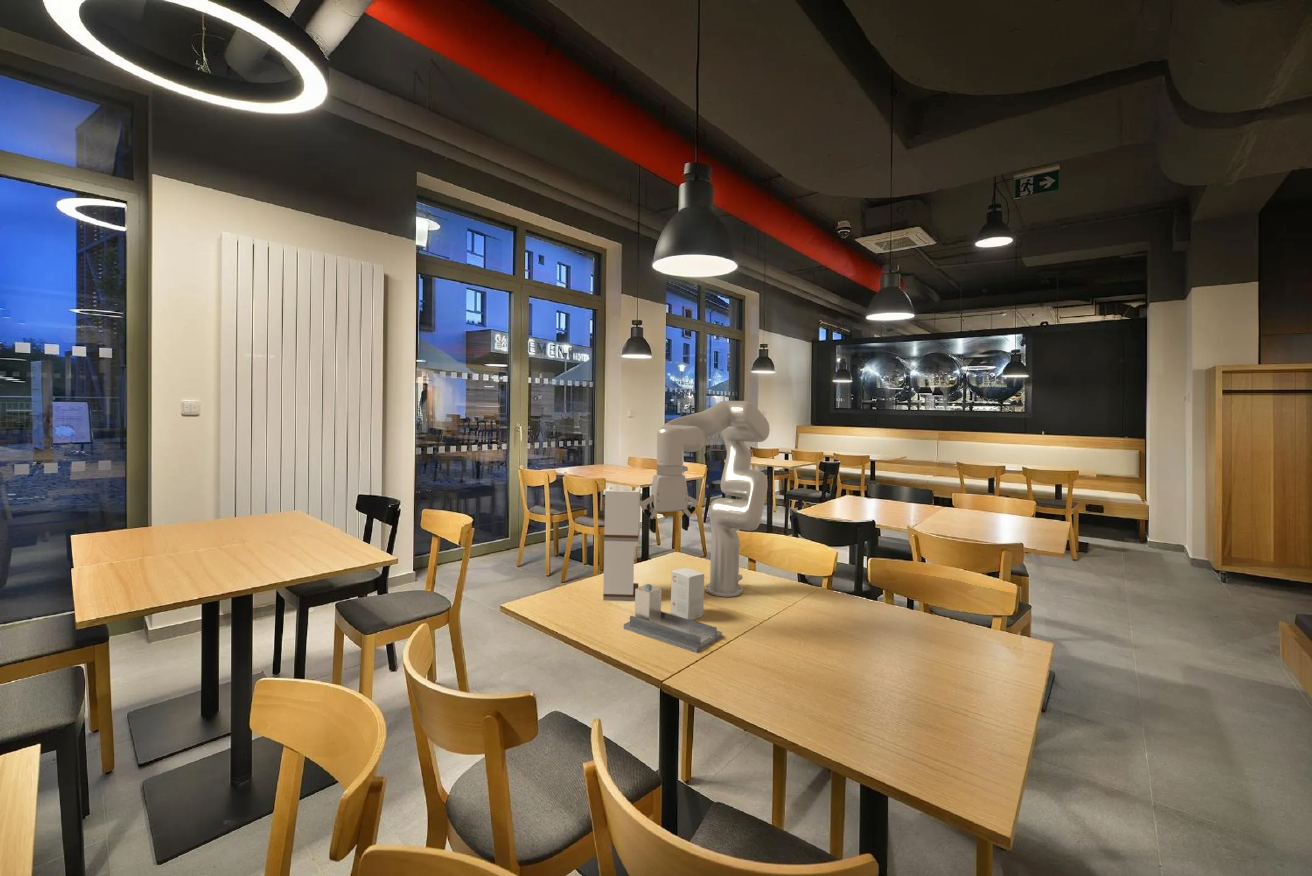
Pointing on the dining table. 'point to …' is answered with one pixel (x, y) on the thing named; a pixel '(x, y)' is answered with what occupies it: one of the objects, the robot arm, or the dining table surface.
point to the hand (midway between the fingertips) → (669, 530)
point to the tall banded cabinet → (620, 543)
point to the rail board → (668, 623)
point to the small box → (687, 593)
